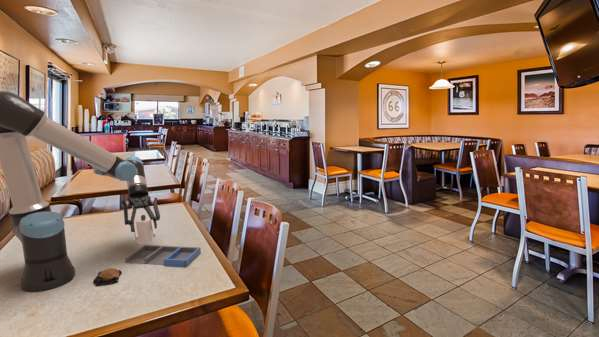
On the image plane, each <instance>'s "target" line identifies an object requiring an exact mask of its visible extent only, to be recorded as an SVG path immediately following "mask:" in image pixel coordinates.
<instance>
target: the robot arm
mask: <svg viewBox="0 0 599 337" xmlns="http://www.w3.org/2000/svg"><path fill="white" fill-rule="evenodd" d="M27 137H34V138H35V139H37V140H39V141H41V142H44V143H46V144H47V145H49V146H51V147H54V148H56V149H57V150H59V151H61V152H62V153H63V152H64V153H65V154H67V155H69V156H72V157H74V158H76V159H77V160H79V161H81V162H83V163H86V164H87V165H90V166H91V167H92V169H93V170H92V171H93V173H94V175H98V176H104V177H109V178H113V179H117V180H119V181H122V182H126V185H127V186H126V187H127V194H128V200H126V201H125V200H122V201H121V207H122V209H123V218H124V225H129V227H130V232H131V233H134V238H135V241H137V240H138V233H137V226H136V221H135V218H136V213H137V209H144V210H145V212H146V213H147V215H148V217H149V219H151V229H152V238H156V234H157V233H156V229H157V227H158V223H157V221H160V218H161V214H160V213H161V212H160V209H159V207H158V198H157V197H153V198H151V197H150V195H149V194H150V193H149V190H148V184H147V178H146V174H145V167H144V163H143V160H142V159H141V158H139V157H137V156H133V157H132V156H130V157H127V158H125V159H123V158H121V157H120V156H117V155H116V154H114V153H112V152H110V151H108V150H107V149H105V148H103V147H101V146H100V145H98V144H96V143H94V142H93V141H91V140H89V139H87V138H85V137H83V136H82V135H80V134H78V133H77V132H75V131H73V130H71V129H69V128H67V127H66V126H63V125H62V124H60V123H58V122H57V121H55V120H53V119H51V118H49V117H48V116H47V114H46V112H45V111H43V110H42V109H40V108H38V107H37V106H35V105H33V104H32V103H30V102H28V101H27V100H26V99H24V98H23V97H21V96H20V95H18V94H15V93H13V92H10V91H5V90H3V91H2V90H0V167H1V170H2V174H3V177H4V181H5V185H6V188H7V191H8V196H9V198H10V201H11V205H12V207H11V208H10V209H9V211H8V214H9V218H10V221H11V231H12V233H13V234H14V236H15V237H16V238H18V240H19V241H20V242H21V245H22V251H23V252H22V253H23V257H24V267H23V271H22V277H21V278H20V288H21V290H22V291H25V292H41V291H46V290H51V289H55V288H58V287H61V286H63V285H65V284H67V283H69V282H71V281H72V280H73V279H74V277H76V268H75V266H74V265H73V264H72V261H71V260H70V257H69V255H68V251H67V250H68V249H67V240H66V232H65V231H66V230H65V220H64V218H63V215H62V214H60V213H58V212H56V211H52V209H51V205H50V202H48V201H46V200H44V199H43V195H42V192H41V188H40V184H39V180H38V177H37V173H36V169H35V167H34V162H33V159H32V154H31V150H30V147H29V144H28V140H27ZM150 202H151V204H152V206H153V210H154V212H153V211H152V209H151V207H150V205H149V203H150ZM129 205H130V206H132V212H131V217H130V219H129V213H128V212H129V211H128V207H129Z"/></svg>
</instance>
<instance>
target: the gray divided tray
mask: <svg viewBox="0 0 599 337" xmlns="http://www.w3.org/2000/svg"><path fill="white" fill-rule="evenodd" d="M201 253H202V252H201V247H198V246H197V247H194V246H176V245H175V246H174V245H172V246H171V245H155V244H154V245H153V244H143V245H142V246H140V247H139V248H137V249H135V250H134V251H132V252H131V253H130V254H128V255H127V256H125V257H124V264H133V265H134V264H135V265H151V266H152V265H153V266H164V267H178V268H179V267H180V268H181V267H182V268H187V267H188V266H189V265H190V264H191V263H192V262H193V261H194V260H195V259H196V258H197V257H198V256H199V255H201Z"/></svg>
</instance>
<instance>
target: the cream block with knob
mask: <svg viewBox="0 0 599 337" xmlns="http://www.w3.org/2000/svg"><path fill="white" fill-rule="evenodd" d="M135 222H136V226H137V233H138V240H136V243H137V244H139V245H141V244H143V245H148V244H149V243H150V242H152V241H153V234H152V229H151V219H150V218H146V215H145V214H141V215H140V219H138V220H137V221H135Z"/></svg>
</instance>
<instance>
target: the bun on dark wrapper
mask: <svg viewBox="0 0 599 337" xmlns="http://www.w3.org/2000/svg"><path fill="white" fill-rule="evenodd" d="M122 274H123V272H122V270H120V269H116V268H115V267H111V268H110V267H109V268H105V269H103V270H101V271H98V273H97V276H96V277H94V279H93V280H92V283H93V284H94V287H95V288H98V287H102V286H105V287H106V286H112V285H116V284H118V283H119V280H120V277H121V275H122Z"/></svg>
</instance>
